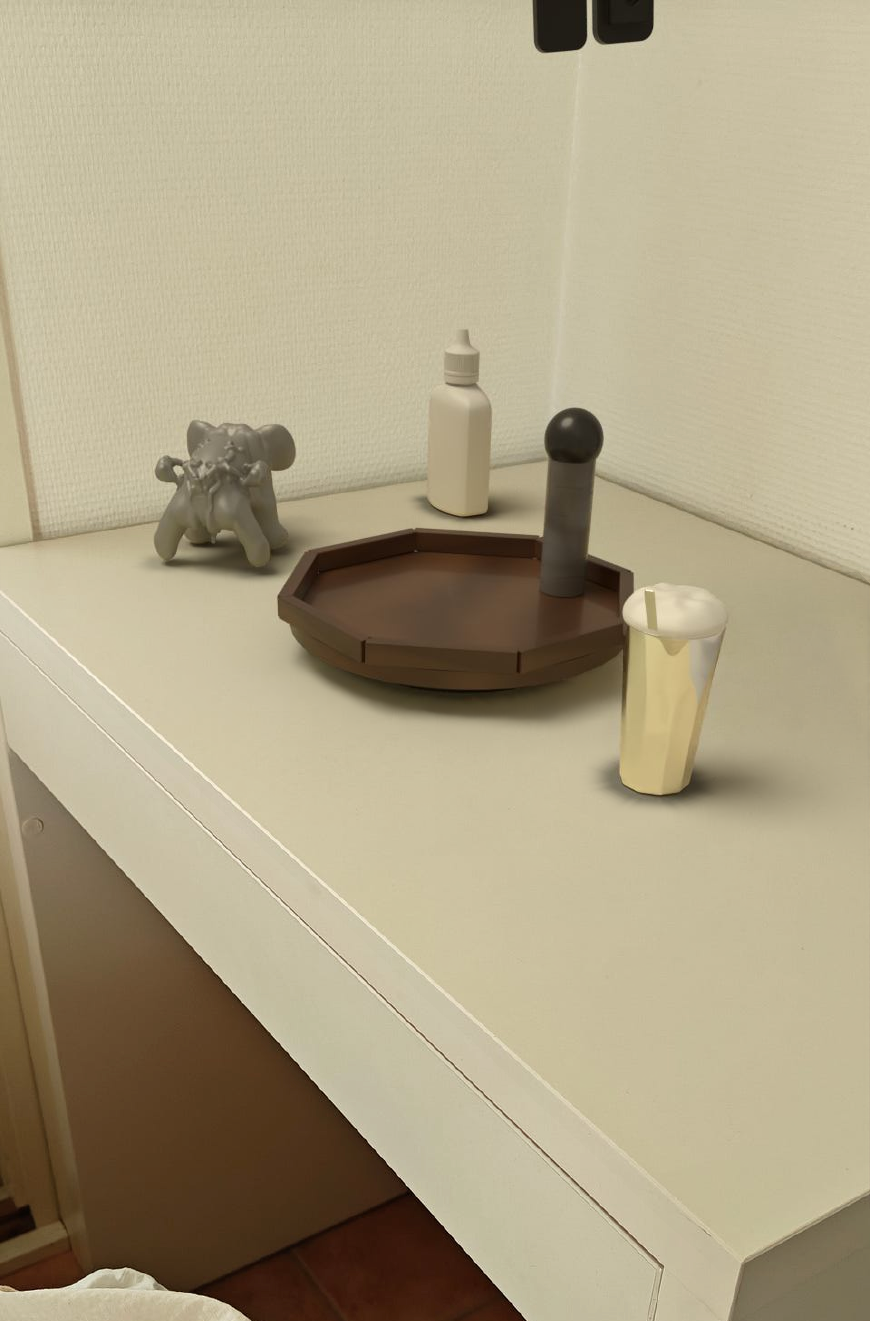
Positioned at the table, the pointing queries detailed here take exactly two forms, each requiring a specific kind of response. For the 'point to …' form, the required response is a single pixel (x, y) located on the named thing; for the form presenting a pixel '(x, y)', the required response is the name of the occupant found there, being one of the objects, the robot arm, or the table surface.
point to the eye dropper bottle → (459, 434)
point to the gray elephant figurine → (226, 488)
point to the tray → (471, 592)
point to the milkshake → (666, 682)
